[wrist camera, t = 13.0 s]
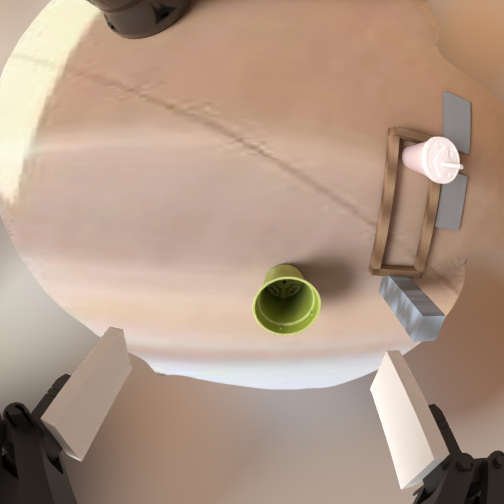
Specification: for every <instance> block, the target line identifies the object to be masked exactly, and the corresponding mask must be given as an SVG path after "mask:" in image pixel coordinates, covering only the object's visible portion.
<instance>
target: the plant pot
mask: <svg viewBox="0 0 504 504" xmlns="http://www.w3.org/2000/svg"><path fill="white" fill-rule="evenodd" d="M283 281H285V282H286V283H283ZM271 287H272V288H273V289H274V290H275V291H277V293H275V292H274V291H272V290H271ZM295 287H297V289H296V290H295V291H294V292H292V293H290V292H291V291H292V290H293V289H294V288H295ZM320 310H321V298H320V295H319V293H318V291H317V289H316V288H315V287H314V286H313V285H312V284H311V283H310V282H308V281H306V280H305V279H304V277H303V276H302V274H301V272H300V271H299V270H298V269H297V268H296V267H294V266H292V265H277V266H275V267H273V268H272V269H271V270H270V271H269V272H268V274H267V276H266V279H265V282H264V284H263V286H262V287H261V288H260V289H259V290H258V292H257V293H256V295H255V298H254V301H253V314H254V317H255V319H256V321H257V322H258V324H259V325H260V326H261V327H263V328H264V329H265V330H267V331H269V332H271V333H273V334H276V335H294V334H298V333H300V332H302V331H304V330H306V329H307V328H309V327H310V326H311V325H312V324H313V323H314V322H315V321H316V319H317V317H318V316H319V313H320Z"/></svg>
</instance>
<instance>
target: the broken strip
mask: <svg viewBox="0 0 504 504" xmlns="http://www.w3.org/2000/svg"><path fill="white" fill-rule="evenodd" d="M470 127H471V112H470V102H469V101H467V100H465V99H462V98H460V97H458V96H456V95H453V94H451V93H449V92H443V137H444V138H447V139H449V140H450V141H451V142H452V143H453V144H454V145H455V147H456V149H457V151H459V152H461V153H464V154H469V152H470ZM466 184H467V176H465V175H461V174H457V176H456V178H455V179H454V180H453V181H452V182H450V183H447V184H441V186H440V193H439V200H438V206H437V212H436V218H435V223H434V227H438V228H444V229H450V230H456V231H459V227H460V222H461V217H462V211H463V205H464V199H465V192H466Z"/></svg>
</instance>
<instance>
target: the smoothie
mask: <svg viewBox="0 0 504 504" xmlns="http://www.w3.org/2000/svg"><path fill="white" fill-rule="evenodd" d="M402 161H403V163H404V165H405V166H406V167H407V168H409V169H412V170H414V171H416V172H419V173H421V174H423V175H425V176H428V177H429V178H430V179H431V180H432V181H434V182H436V183H439V184H440V183H441V184H447V183H450V182H452V181H453V180H454V179H455V178H456V176H457V174H458V172H459V169H463V165H460V158H459V154H458V151H457V149H456V147H455V145H454V144H453V143H452V142H451V141H450V140H449V139H447V138H444V137H432V138H430V139H429V140H428V141H426V142H422V143H419V144H415V145H412V146H409V147H406V148H405V149H404V150H403V152H402Z"/></svg>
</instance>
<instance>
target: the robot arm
mask: <svg viewBox="0 0 504 504" xmlns="http://www.w3.org/2000/svg"><path fill="white" fill-rule="evenodd" d="M86 1H88V2H89V3H91V4H93V5H94V6H96V7H97V8H99V9H100V10H102V12H103V15H104V17H105V19H106V21H107V24H108V26H109V27H110V29H111V30H112V31H114V32H115V33H117V34H118V35H120V36H121V37H124V38H128V39H140V38H145V37H149V36H152V35H154V34H157V33H159V32H161V31H162V30H164V29H166V28H167V27H169V26H170V25H172V24H173V23H174V22H175V21H176V20H177V19H178V18H179V17H180V16H181V15H182V14H183V13H184V11H185V10H186V8H187V6H188V4H189V2H190V0H86ZM131 370H132V367H131V363H130V359H129V355H128V351H127V347H126V342H125V338H124V333H123V329H119V328H114V327H109V329H108V330H107V331H106V332H105V334H104V335H103V336H102V337H101V338H100V340H99V341H98V342H97V344H96V345H95V346H94V347H93V348H92V350H91V351H90V352H89V354H88V355H87V356H86V358H85V359H84V360H83V361H82V363H81V364H80V365H79V367H78V368H77V369H76V370H75V372H74V373H73V374H72V376H70V375H68V374H65V375H63V376H61V377H60V378H58V379H57V380H56V381H55V383H54V384H53V385H52V387H51V388H50V389H49V390H48V392H47V394H45V396H44V397H43V398H42V400H41V401H40V402H39V404H38V405H37V406H36V408H35V409H34V411H33V412H32V413H31V414H30V412H29V411H28V409H27V408H26V407H25V406H24V404H21V403H17V402H15V403H12V404H10V405H8V406H7V407H6V408H5V410H4V412H3V416H2V415H1V413H0V504H77V502H76V499H75V496H74V493H73V490H72V488H71V485H70V482H69V478H68V475H67V472H66V468H65V465H64V461H63V458H62V455H61V453H60V452H61V451H62V449H63V450H64V451H65V452H66V453H67V454H68V455H69V456H71V457H73V458H75V459H77V460H79V461H82V460H83V458H84V456H85V454H86V452H87V450H88V449H89V446H90V444H91V443H92V441H93V439H94V437H95V435H96V433H97V431H98V429H99V427H100V426H101V424H102V422H103V420H104V418H105V416H106V414H107V413H108V411H109V409H110V407H111V405H112V403H113V402H114V400H115V398H116V396H117V394H118V393H119V391H120V389H121V387H122V386H123V384H124V382H125V380H126V379H127V377H128V375H129V373H130V372H131ZM370 390H371V392H372V395H373V398H374V401H375V404H376V407H377V410H378V413H379V416H380V419H381V423H382V426H383V429H384V432H385V435H386V438H387V442H388V445H389V448H390V452H391V455H392V459H393V462H394V465H395V469H396V473H397V477H398V481H399V484H400V488H401V489H405V488H408V487H412V486H415V485H417V484H418V483H419V482H420V481H421V480H423V482H424V485H423V486H421V487H420V488H419V489H418V490H416V491H415V492H414V494H413V495H416V494H417V493H418V492H419V493H418V495H417V497H416V499H415V501H414V503H413V504H504V453H503V452H502V451H494V452H493V453H491V454H490V455H489V456H488V457H487V458H479V459H473V457H472V456H471V455H469V454H467V453H462V452H461V450H460V449H459V446H458V444H457V442H456V440H455V438H454V436H453V434H452V431H451V429H450V428H449V425H448V423H447V421H446V419H445V417H444V415H443V413H442V411H441V410H440V409H439V408H438V407H437V406H436V405H435V404H432V405H427V403H426V401H425V399H424V397H423V395H422V393H421V391H420V389H419V387H418V385H417V383H416V381H415V379H414V377H413V375H412V373H411V371H410V369H409V368H408V366H407V364H406V362H405V360H404V359H403V357H402V355H401V353H400V351H399V350H395V351H386V353H385V356H384V358H383V360H382V363H381V365H380V368H379V370H378V372H377V375H376V377H375V379H374V381H373V384H372V386H371V388H370ZM2 449H3V450H2ZM480 491H481V492H480Z"/></svg>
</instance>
